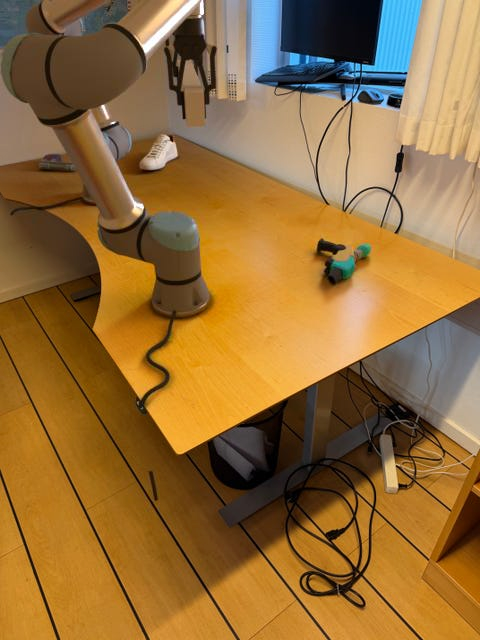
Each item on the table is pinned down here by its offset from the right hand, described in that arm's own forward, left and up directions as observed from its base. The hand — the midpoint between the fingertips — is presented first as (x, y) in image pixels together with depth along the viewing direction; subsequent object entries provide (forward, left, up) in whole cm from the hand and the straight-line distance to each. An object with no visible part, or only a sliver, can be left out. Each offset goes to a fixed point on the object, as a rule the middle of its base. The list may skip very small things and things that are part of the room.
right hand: (194, 117), depth 130 cm
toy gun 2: (-12, -41, -39) cm, 57 cm away
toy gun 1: (+73, +75, -39) cm, 111 cm away
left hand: (+45, +10, 0) cm, 46 cm away
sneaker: (+78, +31, -39) cm, 93 cm away
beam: (+22, +5, -1) cm, 23 cm away
